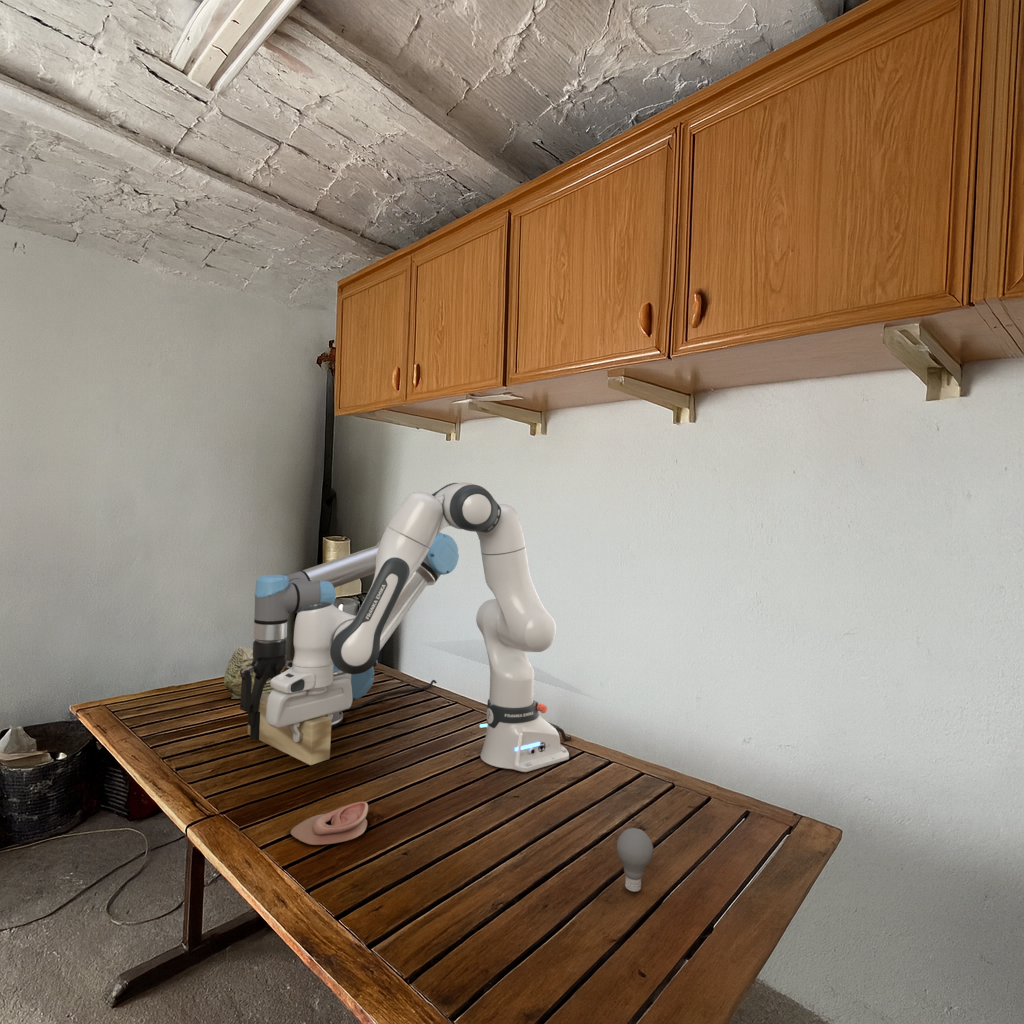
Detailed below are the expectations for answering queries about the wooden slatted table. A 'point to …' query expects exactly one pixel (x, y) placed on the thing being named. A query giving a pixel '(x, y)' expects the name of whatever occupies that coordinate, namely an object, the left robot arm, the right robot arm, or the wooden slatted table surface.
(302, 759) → the birch rail
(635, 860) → the light bulb
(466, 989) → the wooden slatted table surface
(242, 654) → the fossil
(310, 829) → the anatomical model
